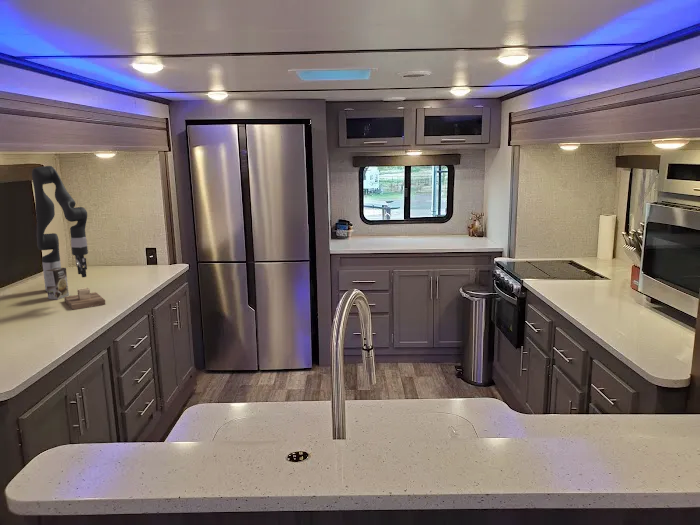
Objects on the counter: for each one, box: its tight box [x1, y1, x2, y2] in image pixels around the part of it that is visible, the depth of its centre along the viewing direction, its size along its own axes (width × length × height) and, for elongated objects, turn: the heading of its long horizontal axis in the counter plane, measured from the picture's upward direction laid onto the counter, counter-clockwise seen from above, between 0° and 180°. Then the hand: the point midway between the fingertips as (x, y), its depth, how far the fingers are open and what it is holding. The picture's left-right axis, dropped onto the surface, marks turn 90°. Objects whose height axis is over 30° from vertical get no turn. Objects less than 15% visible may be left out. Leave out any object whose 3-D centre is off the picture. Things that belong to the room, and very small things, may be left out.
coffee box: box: [45, 267, 70, 300], centre depth 304 cm, size 9×6×16 cm
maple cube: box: [76, 287, 91, 300], centre depth 293 cm, size 5×5×5 cm
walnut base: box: [63, 291, 106, 311], centre depth 294 cm, size 20×16×2 cm
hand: (82, 275), depth 291 cm, fingers open, 8 cm apart
